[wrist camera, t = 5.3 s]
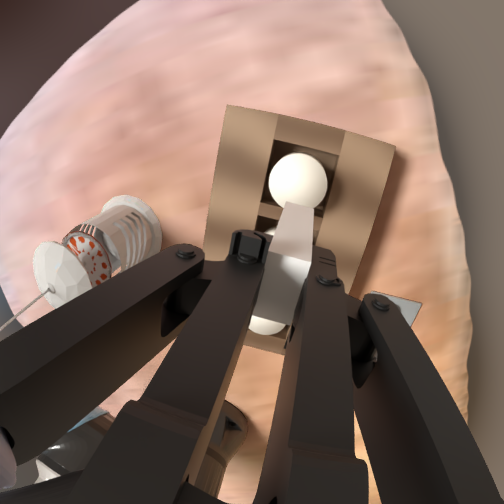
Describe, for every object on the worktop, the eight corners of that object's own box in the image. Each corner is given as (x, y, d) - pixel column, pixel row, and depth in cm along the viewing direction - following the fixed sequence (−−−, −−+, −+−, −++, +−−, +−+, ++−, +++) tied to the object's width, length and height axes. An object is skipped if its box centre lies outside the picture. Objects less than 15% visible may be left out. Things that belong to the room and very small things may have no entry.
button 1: (284, 323, 38) (281, 339, 35) (243, 313, 39) (238, 328, 36) (294, 288, 36) (292, 303, 33) (251, 277, 37) (246, 291, 34)
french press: (160, 196, 36) (-10, 306, 14) (165, 284, 41) (50, 429, 18) (95, 193, 38) (-67, 278, 15) (104, 273, 42) (-18, 386, 20)
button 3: (318, 208, 31) (319, 218, 28) (268, 196, 31) (263, 204, 28) (331, 159, 28) (333, 163, 26) (279, 146, 29) (275, 148, 26)
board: (319, 345, 40) (319, 363, 37) (201, 314, 42) (192, 329, 38) (387, 143, 29) (395, 146, 26) (235, 106, 31) (226, 104, 28)
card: (386, 367, 40) (388, 374, 39) (340, 358, 40) (341, 366, 39) (421, 302, 35) (424, 309, 34) (371, 290, 36) (373, 296, 35)
